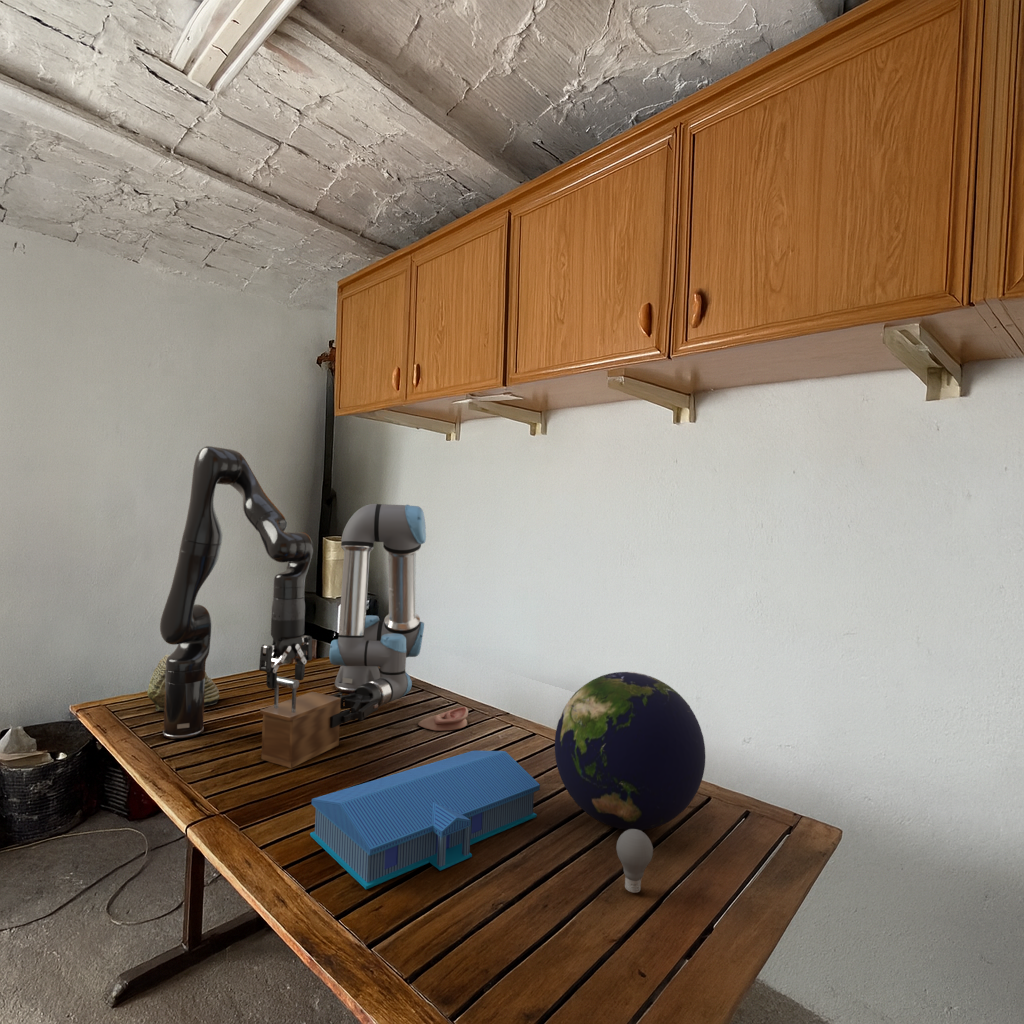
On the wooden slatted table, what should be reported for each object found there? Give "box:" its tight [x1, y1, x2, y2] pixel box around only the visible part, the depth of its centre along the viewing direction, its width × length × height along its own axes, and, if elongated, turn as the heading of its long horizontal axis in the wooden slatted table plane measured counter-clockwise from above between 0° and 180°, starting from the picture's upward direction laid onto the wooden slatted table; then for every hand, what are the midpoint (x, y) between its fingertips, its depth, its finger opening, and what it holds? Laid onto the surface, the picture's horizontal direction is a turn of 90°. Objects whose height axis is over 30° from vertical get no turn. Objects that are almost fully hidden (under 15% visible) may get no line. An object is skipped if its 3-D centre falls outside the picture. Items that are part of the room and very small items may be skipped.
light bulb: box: [615, 829, 654, 894], centre depth 106 cm, size 6×6×10 cm
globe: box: [554, 671, 706, 831], centre depth 128 cm, size 30×30×30 cm
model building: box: [309, 750, 541, 890], centre depth 123 cm, size 39×24×10 cm, turn 132°
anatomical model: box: [417, 706, 469, 732], centre depth 179 cm, size 13×4×12 cm
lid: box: [259, 675, 341, 721], centre depth 156 cm, size 17×10×8 cm, turn 154°
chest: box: [260, 702, 341, 769], centre depth 156 cm, size 16×10×11 cm, turn 154°
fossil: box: [147, 654, 221, 712], centre depth 185 cm, size 9×18×15 cm, turn 132°
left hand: (285, 683), depth 151 cm, fingers open, 8 cm apart
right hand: (315, 718), depth 160 cm, fingers closed on chest, 10 cm apart
